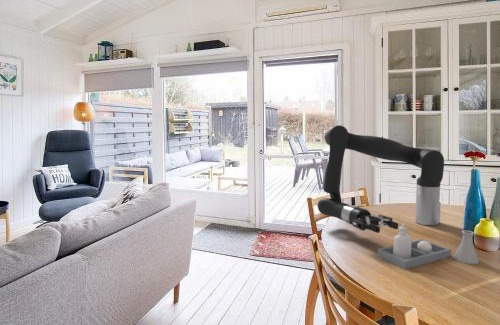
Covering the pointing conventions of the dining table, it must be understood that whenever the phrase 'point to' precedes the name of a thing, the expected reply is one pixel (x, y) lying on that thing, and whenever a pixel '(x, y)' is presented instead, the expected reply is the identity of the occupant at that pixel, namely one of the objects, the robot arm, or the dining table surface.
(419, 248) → the ceramic egg
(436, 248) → the holder
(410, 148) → the robot arm
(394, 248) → the eye dropper bottle
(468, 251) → the flask
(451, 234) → the dining table surface
